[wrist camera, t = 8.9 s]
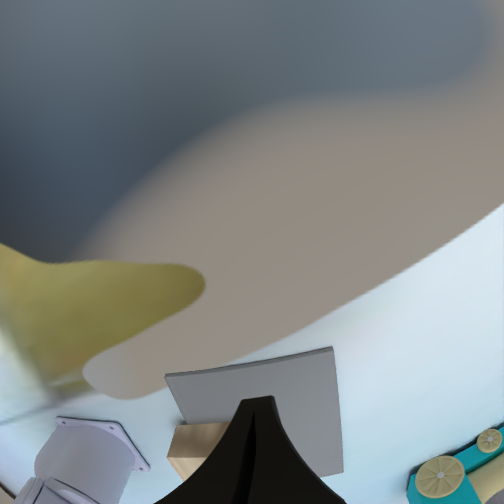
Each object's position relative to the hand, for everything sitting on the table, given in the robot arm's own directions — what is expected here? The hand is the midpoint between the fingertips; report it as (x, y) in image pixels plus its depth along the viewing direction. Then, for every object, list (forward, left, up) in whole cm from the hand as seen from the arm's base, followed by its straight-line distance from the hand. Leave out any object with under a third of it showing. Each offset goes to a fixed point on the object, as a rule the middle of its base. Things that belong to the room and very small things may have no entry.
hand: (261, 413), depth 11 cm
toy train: (+21, -29, -10) cm, 37 cm away
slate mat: (-2, -12, -9) cm, 15 cm away
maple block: (-2, -11, -7) cm, 13 cm away
